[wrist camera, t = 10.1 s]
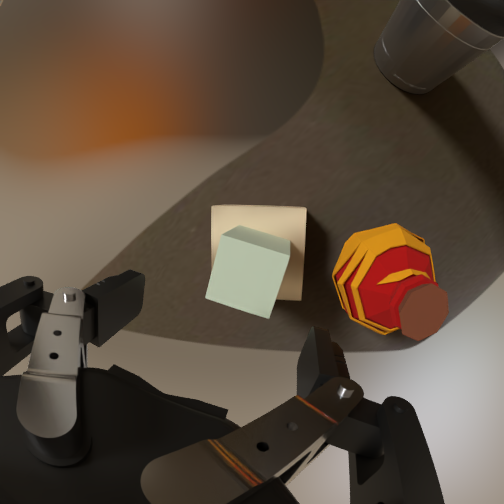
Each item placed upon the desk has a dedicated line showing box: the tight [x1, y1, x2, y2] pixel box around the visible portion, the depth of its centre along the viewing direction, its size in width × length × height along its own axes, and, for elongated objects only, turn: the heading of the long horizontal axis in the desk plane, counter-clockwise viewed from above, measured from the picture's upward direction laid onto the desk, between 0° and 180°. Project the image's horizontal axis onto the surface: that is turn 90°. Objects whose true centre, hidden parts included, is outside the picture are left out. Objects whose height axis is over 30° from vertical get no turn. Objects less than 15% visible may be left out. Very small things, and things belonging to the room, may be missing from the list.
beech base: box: [211, 205, 307, 301], centre depth 29 cm, size 9×9×5 cm
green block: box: [205, 225, 290, 319], centre depth 23 cm, size 5×5×7 cm
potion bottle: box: [332, 223, 449, 341], centre depth 22 cm, size 10×10×15 cm
